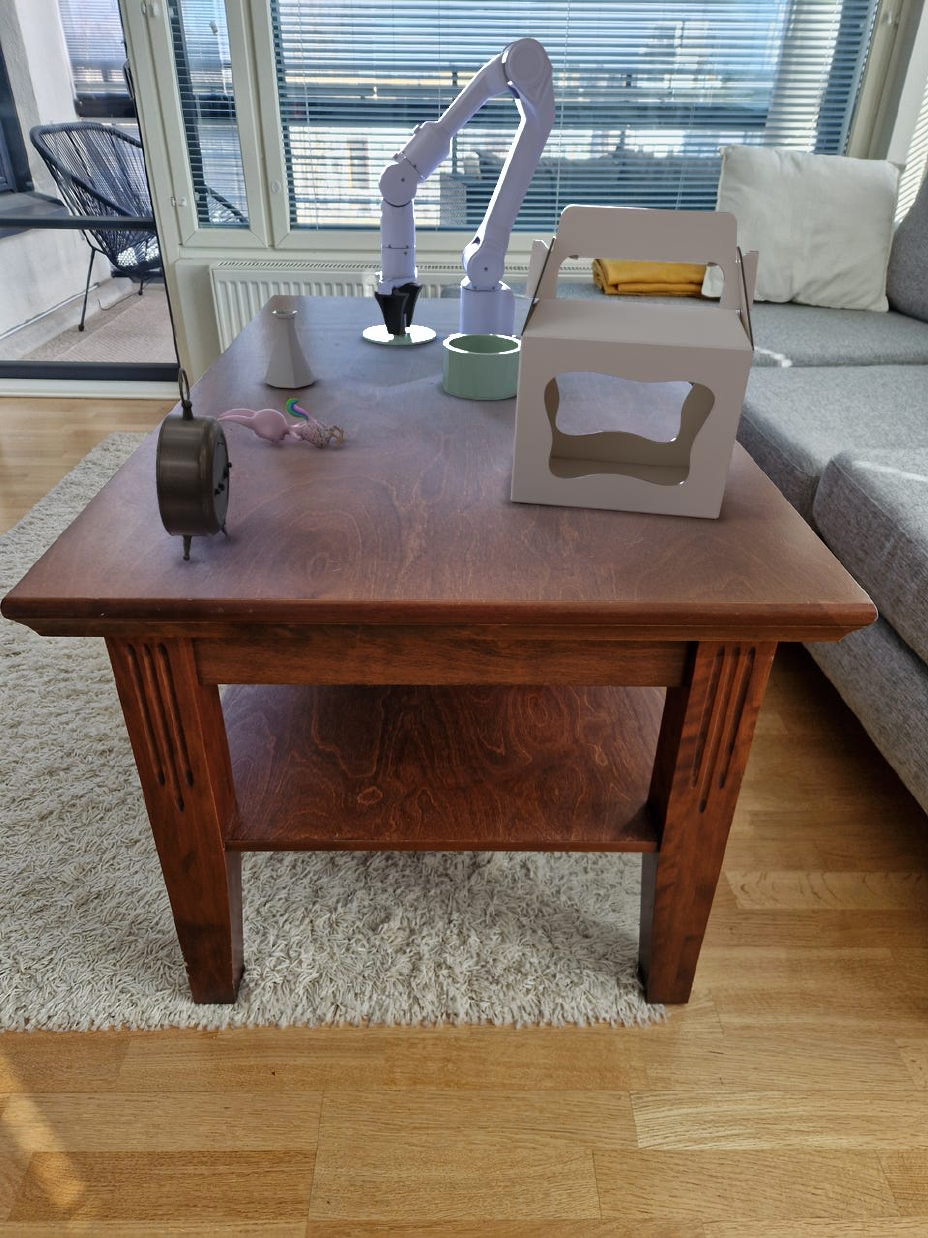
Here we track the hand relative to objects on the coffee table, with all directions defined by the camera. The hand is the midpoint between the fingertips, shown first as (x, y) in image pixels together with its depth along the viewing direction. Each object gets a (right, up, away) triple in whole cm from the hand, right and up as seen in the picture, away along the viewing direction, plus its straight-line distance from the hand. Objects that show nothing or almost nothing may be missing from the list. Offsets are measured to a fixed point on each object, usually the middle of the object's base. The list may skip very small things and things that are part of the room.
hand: (399, 330), depth 144 cm
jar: (+14, -16, -22) cm, 30 cm away
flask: (-14, -15, -22) cm, 30 cm away
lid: (0, -1, 0) cm, 1 cm away
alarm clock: (-13, -43, -65) cm, 79 cm away
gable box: (+28, -36, -51) cm, 68 cm away
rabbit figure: (-11, -29, -43) cm, 53 cm away
